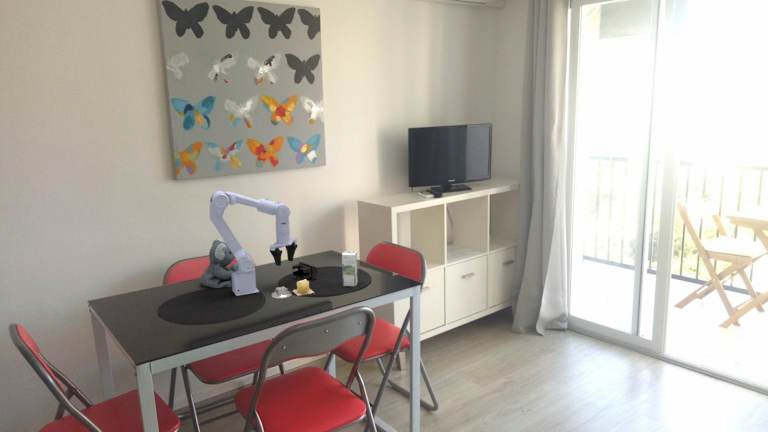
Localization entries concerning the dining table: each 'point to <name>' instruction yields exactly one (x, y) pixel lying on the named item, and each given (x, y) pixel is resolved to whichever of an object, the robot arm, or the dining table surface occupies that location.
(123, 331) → the dining table surface
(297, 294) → the pad
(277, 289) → the grey lumpy disc
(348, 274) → the syrup box
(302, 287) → the yellow cube
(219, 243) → the koala plush
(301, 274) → the black open frame block
